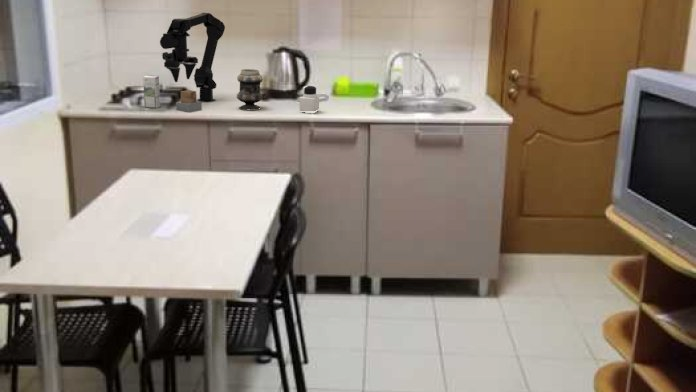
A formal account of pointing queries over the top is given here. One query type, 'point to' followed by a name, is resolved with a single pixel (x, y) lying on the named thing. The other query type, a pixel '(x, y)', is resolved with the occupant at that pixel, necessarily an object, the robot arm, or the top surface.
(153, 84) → the syrup box
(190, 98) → the walnut cube
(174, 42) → the robot arm
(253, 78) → the apothecary jar
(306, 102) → the medicine bottle
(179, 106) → the stoneware block
